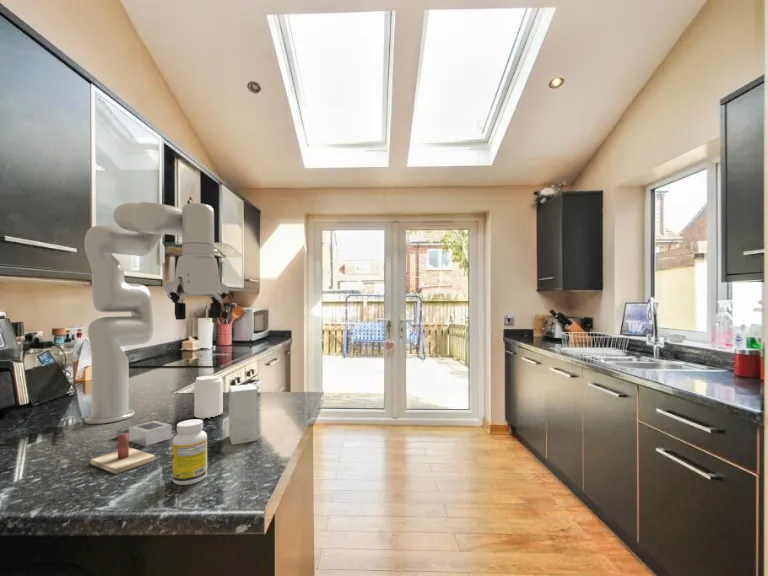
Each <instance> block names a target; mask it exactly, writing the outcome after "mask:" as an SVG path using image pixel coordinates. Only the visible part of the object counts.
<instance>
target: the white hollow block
mask: <svg viewBox="0 0 768 576" xmlns="http://www.w3.org/2000/svg"><path fill="white" fill-rule="evenodd" d="M135 425H136V424H135ZM131 426H132V425H131ZM172 428H173V427H172V424H170V423H165V422H161V421H158V420H152V421H148V422H144V423H142V424H140V425H136V426H132V427H129V442H130V443H133V444H137V445H140V446H144V447H148V446H151V445H155V444H158V443H161V442H164V441H167V440H171V439H172V432H173V431H172V430H173V429H172Z"/></svg>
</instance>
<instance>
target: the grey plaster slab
mask: <svg viewBox="0 0 768 576" xmlns="http://www.w3.org/2000/svg"><path fill="white" fill-rule="evenodd" d="M140 424H143V423H141V422H139V423H137V424H133V425H128V426H125V427H120V428H118V429H116V438H118V435H119V434H123V433H129V427H132V426H136V425H140Z"/></svg>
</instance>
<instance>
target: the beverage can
mask: <svg viewBox="0 0 768 576" xmlns="http://www.w3.org/2000/svg"><path fill="white" fill-rule="evenodd" d="M223 384H224V382H223V379H222V376H221V375H217V374H215V375H214V374H213V375H203V376H198V377H196V379H195V380H194V386H193V387H194V391H193V392H194V393H193V395H194V399H193V400H194V405H193V406H194V407H193V408H194V410H193V411H194V412H193V413H194V414H193V415H194V417H195V418H196V419H197V418H198V419H200V420H205V418H208V419H211V418H210V417H214V418H216V417H215V416H217V417H219V416H220V415H222V414H223V413H224V410H223V409H224V406H223V405H224V399H223V398H224V397H223V396H224V393H223V390H224V389H223V388H224V387H223V386H224V385H223ZM218 415H219V416H218Z"/></svg>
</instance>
